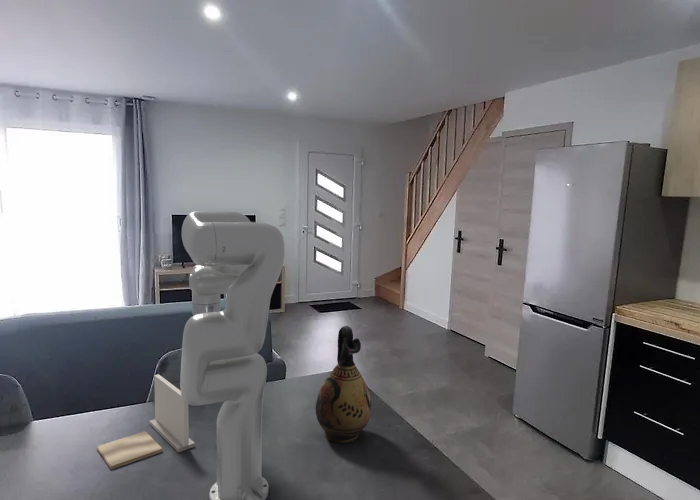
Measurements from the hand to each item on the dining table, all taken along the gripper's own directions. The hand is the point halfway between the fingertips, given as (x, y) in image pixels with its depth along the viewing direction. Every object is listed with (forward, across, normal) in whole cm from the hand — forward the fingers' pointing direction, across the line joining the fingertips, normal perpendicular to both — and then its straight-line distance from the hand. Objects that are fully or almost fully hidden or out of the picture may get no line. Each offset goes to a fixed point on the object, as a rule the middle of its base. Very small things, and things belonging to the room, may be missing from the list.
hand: (207, 371), depth 128 cm
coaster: (+16, +1, +21) cm, 26 cm away
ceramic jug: (+17, -28, -26) cm, 42 cm away
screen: (+16, +2, +10) cm, 19 cm away
